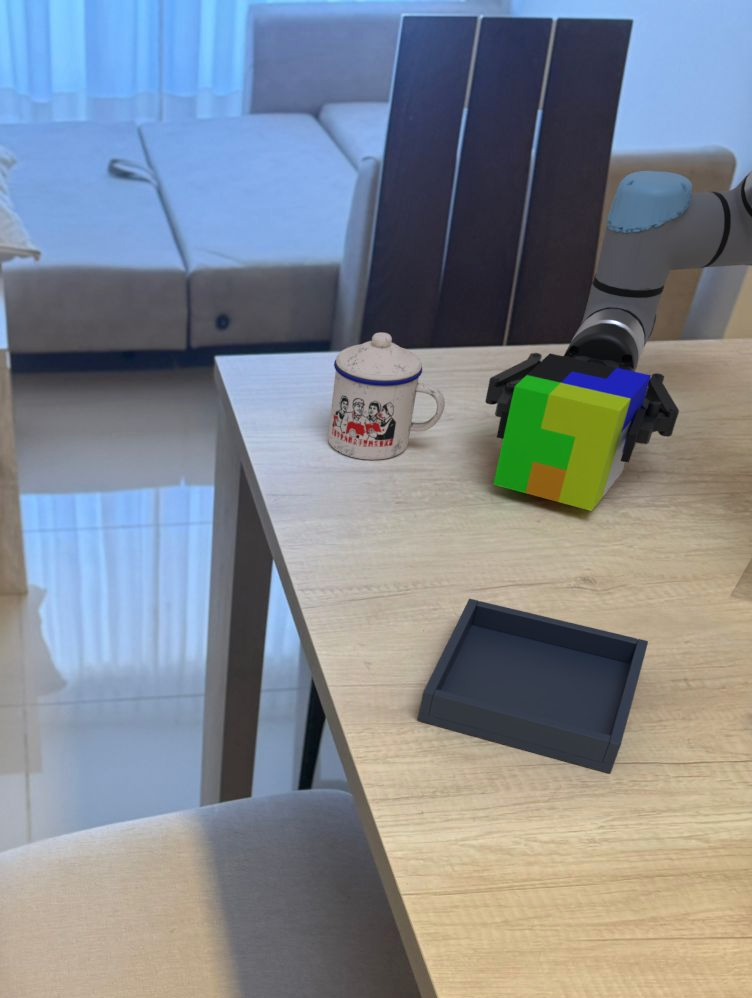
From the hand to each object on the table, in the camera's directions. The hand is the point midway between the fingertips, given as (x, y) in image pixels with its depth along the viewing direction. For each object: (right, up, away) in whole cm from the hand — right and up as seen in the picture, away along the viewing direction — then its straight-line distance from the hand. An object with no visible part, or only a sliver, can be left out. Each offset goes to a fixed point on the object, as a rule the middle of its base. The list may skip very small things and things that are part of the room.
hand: (564, 436), depth 110 cm
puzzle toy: (+2, -2, +7) cm, 7 cm away
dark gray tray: (-9, -26, -18) cm, 33 cm away
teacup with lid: (-15, +4, +15) cm, 21 cm away
